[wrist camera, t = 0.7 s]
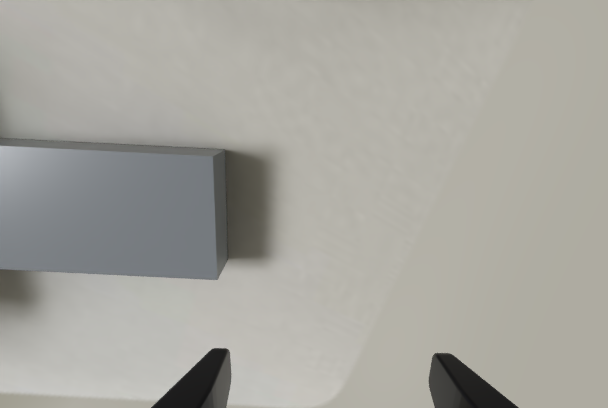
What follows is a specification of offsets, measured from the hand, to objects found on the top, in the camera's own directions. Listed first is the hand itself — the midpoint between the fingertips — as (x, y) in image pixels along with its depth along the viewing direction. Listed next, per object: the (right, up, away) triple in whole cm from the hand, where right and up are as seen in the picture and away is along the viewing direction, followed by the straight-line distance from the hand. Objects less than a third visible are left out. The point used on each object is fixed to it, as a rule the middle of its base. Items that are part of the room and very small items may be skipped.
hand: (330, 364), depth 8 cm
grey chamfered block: (-13, +4, +11) cm, 18 cm away
